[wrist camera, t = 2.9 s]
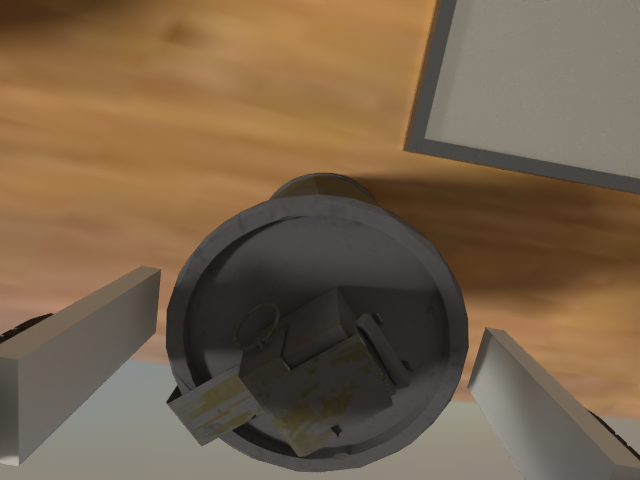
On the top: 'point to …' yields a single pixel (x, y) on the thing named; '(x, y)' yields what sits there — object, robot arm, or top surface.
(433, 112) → the shallow grey tray
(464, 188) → the top surface
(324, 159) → the top surface
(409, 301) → the canister
